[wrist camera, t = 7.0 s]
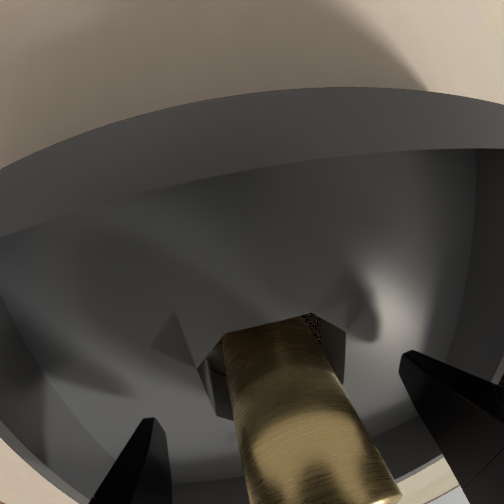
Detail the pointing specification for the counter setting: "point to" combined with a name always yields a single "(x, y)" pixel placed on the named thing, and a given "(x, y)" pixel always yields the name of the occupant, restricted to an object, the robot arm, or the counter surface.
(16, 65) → the counter surface
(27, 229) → the tray
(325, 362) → the brass peg
